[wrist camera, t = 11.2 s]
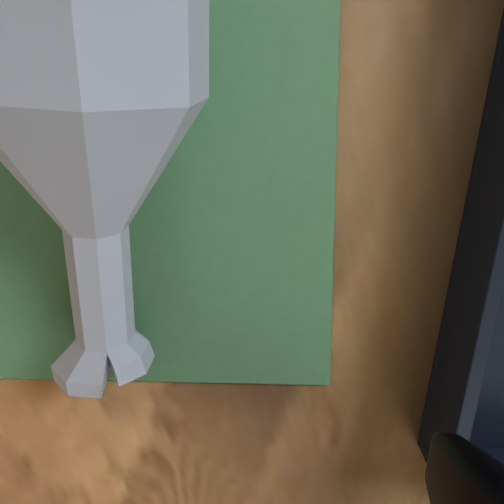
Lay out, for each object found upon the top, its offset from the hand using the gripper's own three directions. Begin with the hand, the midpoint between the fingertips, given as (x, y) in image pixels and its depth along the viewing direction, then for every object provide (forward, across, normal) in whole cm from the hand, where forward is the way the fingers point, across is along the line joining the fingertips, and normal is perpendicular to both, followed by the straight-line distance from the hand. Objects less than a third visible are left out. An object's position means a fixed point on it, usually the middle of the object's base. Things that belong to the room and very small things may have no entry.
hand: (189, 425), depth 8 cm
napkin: (+12, +6, -4) cm, 13 cm away
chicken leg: (+12, +5, -4) cm, 13 cm away
